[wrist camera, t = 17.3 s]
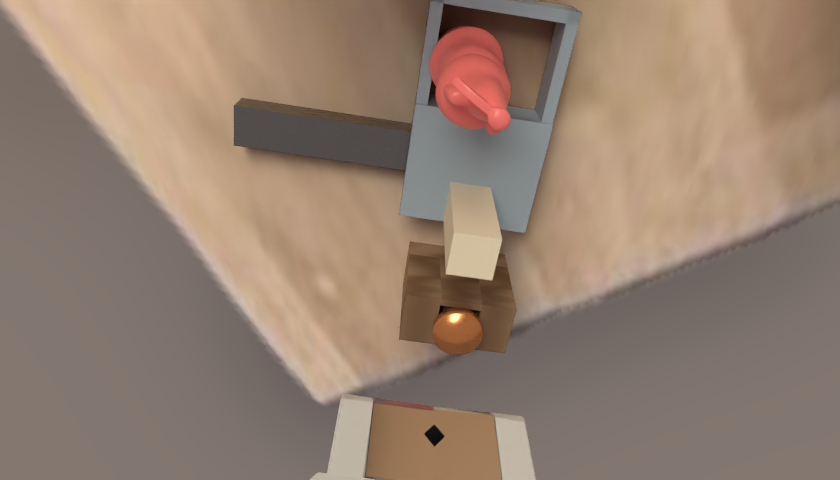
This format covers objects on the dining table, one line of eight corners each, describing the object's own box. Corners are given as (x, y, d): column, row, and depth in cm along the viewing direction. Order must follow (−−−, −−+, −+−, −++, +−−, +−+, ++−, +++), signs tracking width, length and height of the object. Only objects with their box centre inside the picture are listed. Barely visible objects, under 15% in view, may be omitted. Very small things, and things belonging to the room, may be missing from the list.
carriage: (571, 6, 42) (616, 35, 32) (519, 213, 49) (542, 290, 39) (432, -17, 41) (433, 5, 31) (400, 196, 48) (393, 270, 39)
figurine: (408, 62, 43) (421, 130, 30) (454, 0, 42) (489, 45, 28) (463, 104, 45) (498, 187, 32) (510, 47, 43) (567, 110, 30)
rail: (532, 142, 46) (536, 151, 45) (523, 178, 48) (527, 188, 46) (241, 98, 45) (234, 105, 43) (241, 136, 47) (233, 145, 45)
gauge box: (504, 255, 51) (516, 309, 44) (494, 294, 53) (504, 353, 46) (409, 241, 51) (406, 295, 44) (403, 282, 52) (399, 339, 45)
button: (480, 268, 49) (487, 317, 43) (471, 304, 51) (477, 357, 45) (436, 261, 49) (436, 310, 43) (428, 299, 50) (428, 351, 44)
